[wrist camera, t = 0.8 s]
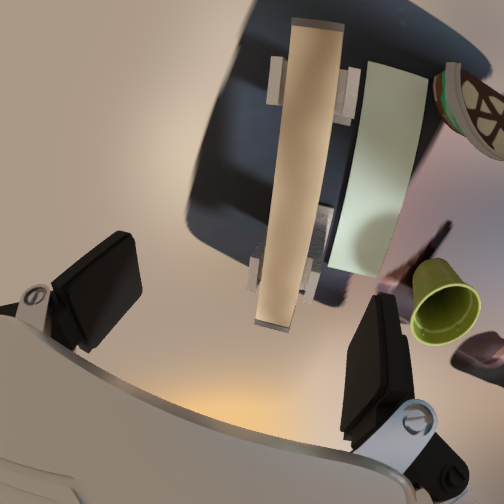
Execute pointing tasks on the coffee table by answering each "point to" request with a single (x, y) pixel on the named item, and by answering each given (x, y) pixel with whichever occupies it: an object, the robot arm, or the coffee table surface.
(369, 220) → the mat
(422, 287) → the plant pot
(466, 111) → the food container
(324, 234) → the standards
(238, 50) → the coffee table surface
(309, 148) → the rail
